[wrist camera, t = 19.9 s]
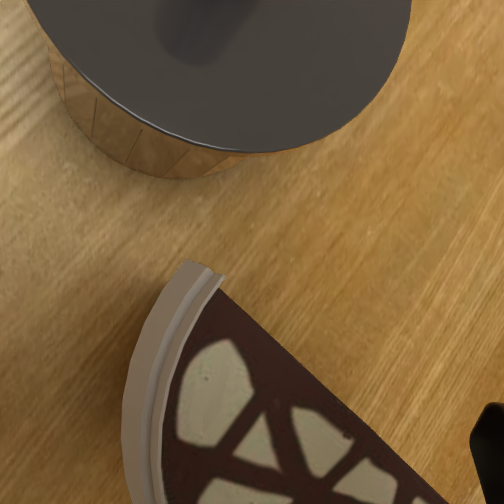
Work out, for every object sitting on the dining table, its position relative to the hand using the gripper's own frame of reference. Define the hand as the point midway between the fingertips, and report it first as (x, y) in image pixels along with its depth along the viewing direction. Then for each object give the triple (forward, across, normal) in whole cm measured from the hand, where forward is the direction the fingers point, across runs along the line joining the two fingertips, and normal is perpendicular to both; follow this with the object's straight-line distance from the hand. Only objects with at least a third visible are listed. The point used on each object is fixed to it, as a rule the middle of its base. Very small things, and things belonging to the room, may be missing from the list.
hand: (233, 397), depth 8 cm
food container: (+9, 0, +10) cm, 14 cm away
